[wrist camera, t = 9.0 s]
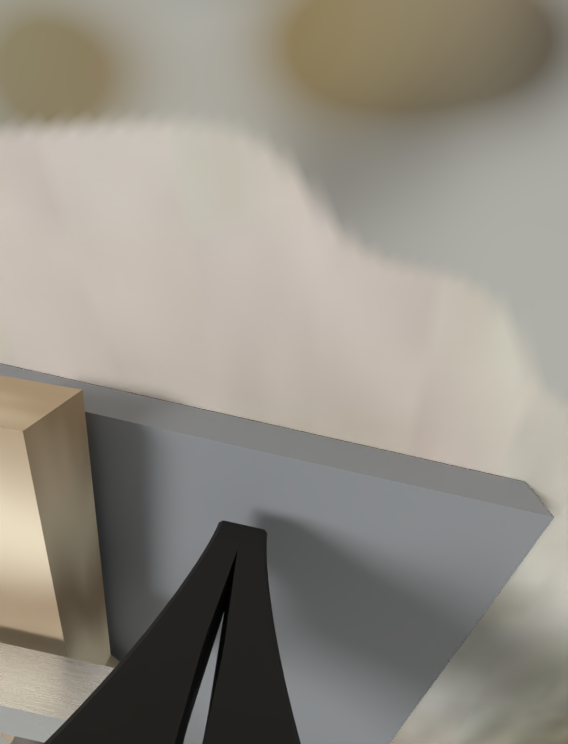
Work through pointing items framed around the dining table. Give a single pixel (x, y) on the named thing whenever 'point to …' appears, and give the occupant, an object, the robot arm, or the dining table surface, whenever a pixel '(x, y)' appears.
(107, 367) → the dining table surface
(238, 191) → the dining table surface
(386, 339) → the dining table surface
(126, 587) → the board
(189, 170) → the dining table surface
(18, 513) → the link
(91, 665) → the keeper
